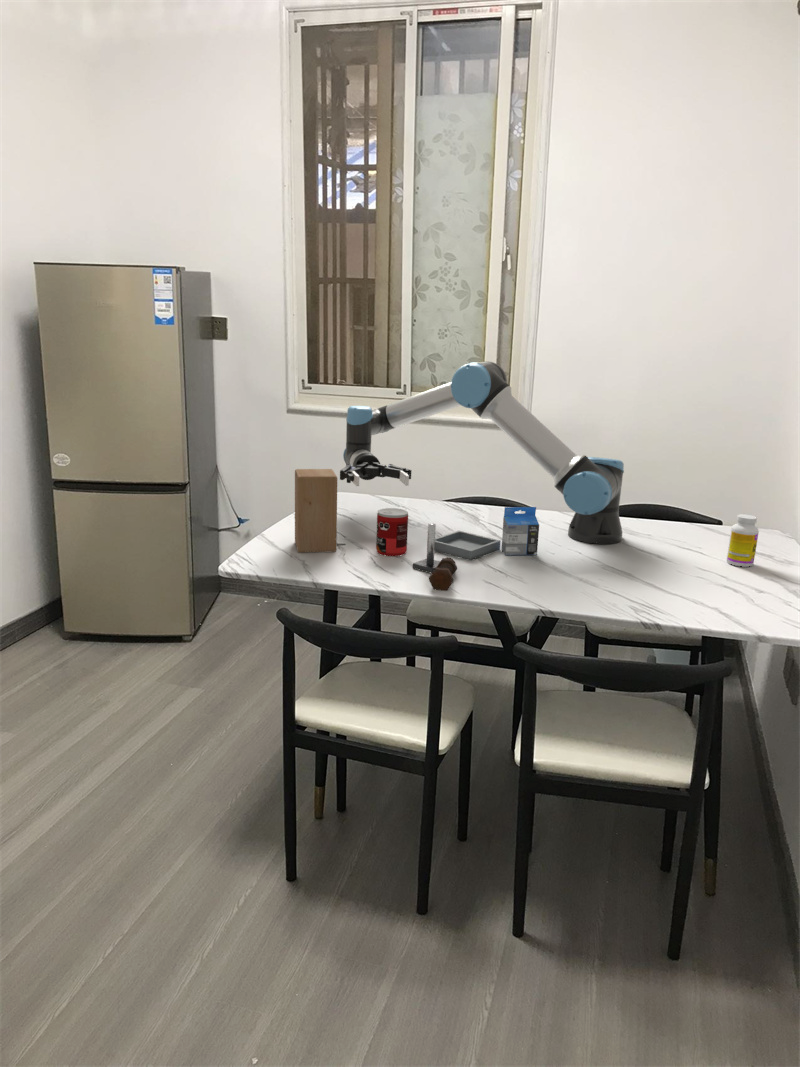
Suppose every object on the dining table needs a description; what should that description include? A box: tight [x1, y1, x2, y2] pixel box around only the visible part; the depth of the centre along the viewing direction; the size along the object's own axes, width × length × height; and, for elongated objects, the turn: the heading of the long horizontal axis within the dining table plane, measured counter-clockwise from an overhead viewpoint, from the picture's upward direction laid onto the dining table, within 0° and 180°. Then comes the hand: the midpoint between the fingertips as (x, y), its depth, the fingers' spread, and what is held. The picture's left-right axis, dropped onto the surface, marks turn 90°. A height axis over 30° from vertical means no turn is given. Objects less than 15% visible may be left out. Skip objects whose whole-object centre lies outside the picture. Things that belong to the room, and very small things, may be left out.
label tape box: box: [501, 506, 540, 556], centre depth 208 cm, size 9×4×12 cm, turn 99°
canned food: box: [375, 507, 409, 557], centre depth 204 cm, size 8×8×11 cm
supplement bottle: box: [725, 513, 760, 568], centre depth 206 cm, size 7×7×13 cm
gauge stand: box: [412, 522, 441, 574], centre depth 193 cm, size 6×6×11 cm
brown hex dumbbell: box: [428, 557, 458, 592], centre depth 186 cm, size 6×5×15 cm
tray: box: [434, 530, 502, 562], centre depth 210 cm, size 14×14×3 cm
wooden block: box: [294, 468, 338, 553], centre depth 205 cm, size 10×10×20 cm
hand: (382, 480), depth 211 cm, fingers open, 13 cm apart
